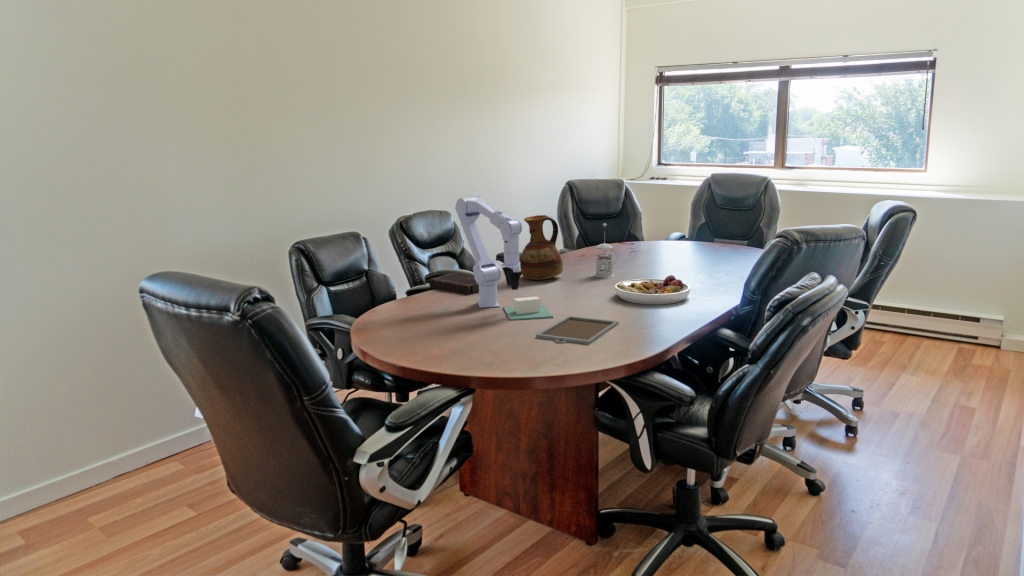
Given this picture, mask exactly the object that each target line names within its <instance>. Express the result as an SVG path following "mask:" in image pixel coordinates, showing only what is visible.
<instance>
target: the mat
mask: <svg viewBox="0 0 1024 576" xmlns="http://www.w3.org/2000/svg"><path fill="white" fill-rule="evenodd" d="M503 311H504V312H505V313H506V315H507V317H508V319H509V320H510V321H522V320H537V319H538V320H539V319H554V315H553V314H552V313H551V311H550V310H548V308H547V307H546V306H545V304H540V312H533V313H524V314H517V313H516V312H514V306H504V307H503Z"/></svg>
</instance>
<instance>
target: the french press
mask: <svg viewBox="0 0 1024 576" xmlns="http://www.w3.org/2000/svg"><path fill="white" fill-rule="evenodd" d="M602 226H603V227H606V226H608V225H607V223H605V222H604V223H603V224H602ZM603 234H604V241H603V243H600V244H598V245H596V246H595V249H597V250H604V253H601V254H596V257H597V258H596V259H595V261H596V262H595V264H596V268H595V269H596V270H595V271H596V272H595V274H594V275H593V276H594V277H597V278H604V279H605V278H606V279H607V278H613V277H615V276H616V275H615V274H614V270H613V269H614V268H613V267H614V265H615V264H616V263H617V262H618V260H619V254H618V252H617V250H616V249H613V248H614V246H612V245H611V244H609V243H606V238H605V237H606V232H604V233H603ZM606 250H610V251H611V253H613V252H614V253H615V260H614V257H613V255H612V254H609V253H608V254H607V253H606ZM612 257H613V258H612ZM613 260H614V261H613Z"/></svg>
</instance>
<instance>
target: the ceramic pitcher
mask: <svg viewBox="0 0 1024 576" xmlns="http://www.w3.org/2000/svg"><path fill="white" fill-rule="evenodd" d="M523 220H524V222H526V224H528V227H529V228H528V229H529V230H528V231H529V234H530V237H529V242H528V243H527V244H526V245H525V247H524V248H523V250H522V252H521V255H520V258H519V263H520V266H519V269H520V271H522V275H521V276H522V277H524V278H525V279H528V280H534V281H535V280H537V281H538V280H547V279H550V278H555V277H557V276H559V275H560V274H562V273H563V272H564V263H563V257H562V255H561V253H560V250H558V248H557V246H556V245H557V244H556V243H557V240H558V235H559V226H558V223H557V221H556V220H555V219H554V218H553V217H551V216H549V215H546V214H543V215H541V214H540V215H539V214H536V215H535V216H532V215H531V216H527V217H525V218H523ZM545 221H550V222H551V225H552V234H551V237H550V239H547V238H546V237H545V234H544V230H543V229H544V223H545Z"/></svg>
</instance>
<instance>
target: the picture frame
mask: <svg viewBox="0 0 1024 576" xmlns="http://www.w3.org/2000/svg"><path fill="white" fill-rule="evenodd" d="M618 325H619V321H618V320H611V319H603V318H593V317H584V316H574V315H567V316H566V317H565V318H562V319H561V320H559V321H557V322H555V323H553V325H550V326H548V327H547V328H544V330H542V331H539V332H538V333H536V334H535V338H536V339H541V338H542V339H544V340H548V341H549V340H550V341H554V340H555V341H554V342H555V344H568V342H569V343H571V342H573V343H574V344H579V343H580V344H581V345H588V344H590V345H591V344H592V343H594V342H596V340H598V339H599V337H600V338H601V337H602V336H604V335H606V333H608V332H610V331H611V330H612V329H614V328H615V327H616V326H618ZM573 343H572V344H573Z"/></svg>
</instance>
